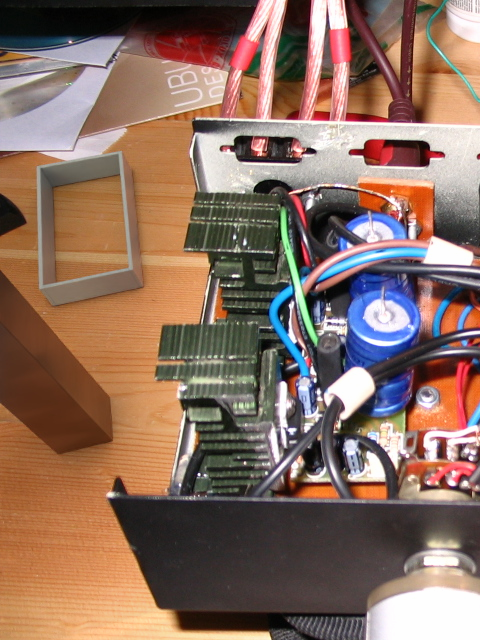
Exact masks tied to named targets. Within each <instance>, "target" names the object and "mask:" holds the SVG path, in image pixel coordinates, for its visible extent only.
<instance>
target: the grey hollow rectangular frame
mask: <svg viewBox="0 0 480 640" xmlns="http://www.w3.org/2000/svg"><path fill="white" fill-rule="evenodd" d="M113 176H120V184H121V185H120V186H121V187H120V188H121V196H122V197H121V198H122V208H123V219H124V229H125V231H124V232H125V241H126V253H127V263H128V264H127V265H128V267H124V268H121V269H115V270H110V271H106V272H101V273H96V274H91V275H87V276H81V277H77V278H73V279H66V280H63V281H58V282H57V276H56V275H57V270H56V243H55V242H56V241H55V213H54V212H55V211H54V187H59V186H65V185H70V184H75V183H80V182H81V183H82V182H86V181H91V180H97V179H102V178H107V177H113ZM134 188H135V187H134V178H133V169H132V167H131V165H130V164H129V162H128V159H127V158H126V156H125V154H124V152H123V151H122V150H118V151H113V152H108V153H107V152H106V153H102V154H101V153H100V154H96V155H90V156H85V157H79V158H74V159H69V160H62V161H56V162H51V163H46V164H41V165H36V203H37V204H36V206H37V207H36V209H37V253H38V254H37V255H38V256H37V257H38V259H37V260H38V261H37V262H38V290H39V291H40V292H41V293H42V294H43V296H44V297H45V299H46V300H47V301H48V302H49V304H51V306H52V307H56V306H60V305H65V304H70V303H75V302H78V301H83V300H89V299H93V298H98V297H103V296H108V295H112V294H117V293H121V292H126V291H131V290H137V289H140V288H144V277H143V268H142V257H141V247H140V237H139V227H138V219H137V208H136V206H137V205H136V197H135V189H134Z"/></svg>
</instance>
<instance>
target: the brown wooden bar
mask: <svg viewBox="0 0 480 640" xmlns="http://www.w3.org/2000/svg"><path fill="white" fill-rule="evenodd" d="M0 404H1V406H3V407H4V408H5V409H6V410H7V411H8V412H9V413H11V415H13V416H14V417H15V418H16V419H17V420H19V421H20V423H22V424H23V425H24V426H25V427H26V428H28V430H30V431H31V432H32V433H33V434H35V435H36V436H37V437H38V438H39V439H40V440H41V441H42V442H43V443H44V444H46V445H47V447H49V448H50V449H51V450H52V451H54V453H56V454H57V455H61V454H64V453H68V452H72V451H77V450H80V449H85V448H89V447H93V446H96V445H101V444H106V443H111V442H113V440H114V439H113V426H112V425H113V424H112V411H111V397H110V396H109V394H108V393H107V392H106V391H105V389H103V387H102V386H101V385H100V384H99V383H98V381H97V380H96V379H95V378H94V377H93V376H92V374H91V373H90V372H89V371H88V370H87V368H86V367H85V366H83V364H82V363H81V361H79V360H78V359H77V357H76V356H75V355H74V354H73V352H72V351H71V350H70V349H69V347H68V346H66V344H65V343H64V342H63V341H62V340H61V338H60V337H59V336H58V335H57V333H55V332H54V330H53V329H52V328H51V327H50V325H49V324H48V323H47V322H46V321H45V320H44V319H43V318H42V316H41V315H40V314H39V313H38V312H37V310H36V309H35V308H34V307H33V306H32V304H30V302H29V301H28V300H27V299H26V298H25V297H24V295H23V294H22V293H21V291H19V289H18V288H17V287H16V286H15V285H14V284H13V283H12V282H11V280H10V279H9V278H8V276H7V275H5V273H4V272H3V271H2V270H1V269H0Z"/></svg>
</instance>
